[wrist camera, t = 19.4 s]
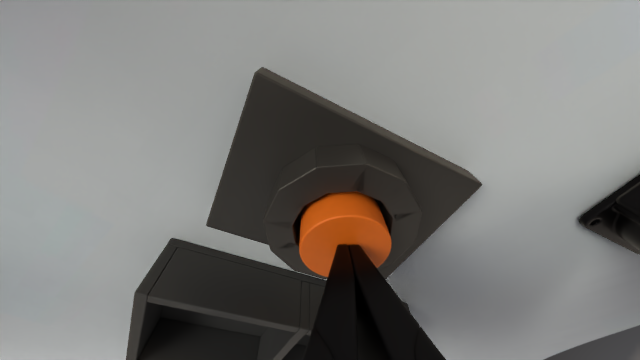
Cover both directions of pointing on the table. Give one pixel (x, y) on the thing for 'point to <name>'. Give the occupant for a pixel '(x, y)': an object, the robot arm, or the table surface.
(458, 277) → the table surface
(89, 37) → the table surface
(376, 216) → the button
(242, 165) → the block
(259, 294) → the divided tray
